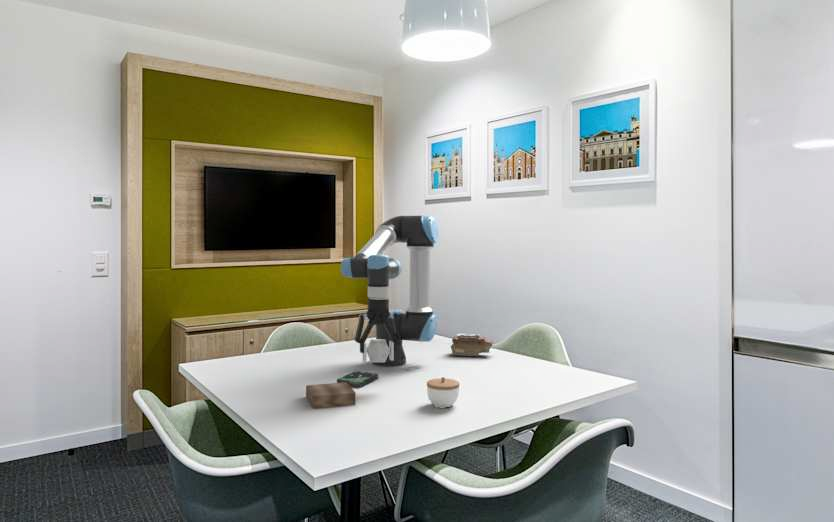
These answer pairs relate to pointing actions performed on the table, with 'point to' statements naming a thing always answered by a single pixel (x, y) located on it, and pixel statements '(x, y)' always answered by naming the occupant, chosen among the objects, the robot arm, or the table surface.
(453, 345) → the decorative box
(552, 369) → the table surface
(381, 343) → the die
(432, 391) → the lidded jar
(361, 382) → the disk drive
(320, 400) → the walnut base
